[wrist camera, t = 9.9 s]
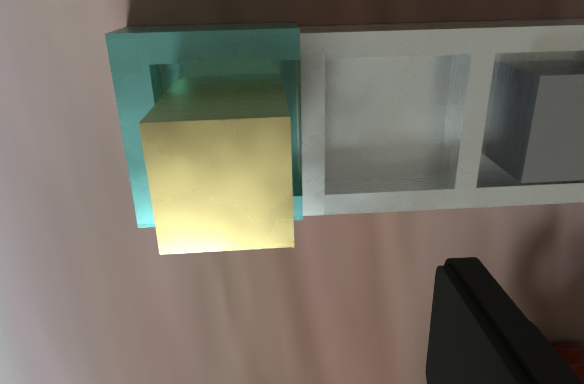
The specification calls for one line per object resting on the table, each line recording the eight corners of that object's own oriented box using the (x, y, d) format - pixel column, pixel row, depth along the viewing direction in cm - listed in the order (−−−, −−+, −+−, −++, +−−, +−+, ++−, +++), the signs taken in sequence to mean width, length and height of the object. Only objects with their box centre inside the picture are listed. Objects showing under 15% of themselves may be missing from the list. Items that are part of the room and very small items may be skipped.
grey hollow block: (594, 58, 22) (652, 71, 19) (574, 151, 24) (623, 178, 21) (499, 62, 22) (540, 75, 19) (485, 155, 24) (521, 183, 20)
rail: (625, 12, 22) (680, 16, 19) (585, 178, 26) (626, 203, 23) (125, 26, 21) (104, 33, 18) (152, 198, 25) (138, 227, 22)
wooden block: (280, 73, 21) (290, 116, 14) (283, 168, 23) (294, 246, 16) (177, 77, 21) (138, 123, 14) (189, 172, 23) (159, 254, 16)
